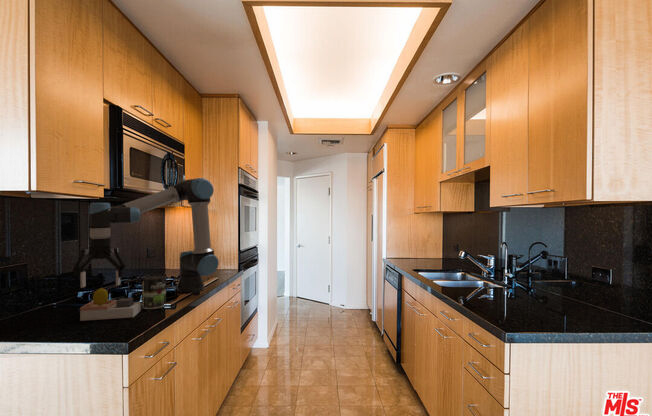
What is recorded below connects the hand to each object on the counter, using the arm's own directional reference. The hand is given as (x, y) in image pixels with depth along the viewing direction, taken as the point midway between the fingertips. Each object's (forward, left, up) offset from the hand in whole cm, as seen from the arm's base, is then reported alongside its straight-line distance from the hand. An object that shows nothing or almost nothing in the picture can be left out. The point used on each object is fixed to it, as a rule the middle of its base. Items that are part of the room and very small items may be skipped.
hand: (100, 286), depth 140 cm
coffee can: (-19, -11, -13) cm, 25 cm away
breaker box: (-5, 0, -13) cm, 14 cm away
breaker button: (-10, 0, -12) cm, 16 cm away
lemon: (0, 0, -9) cm, 9 cm away
